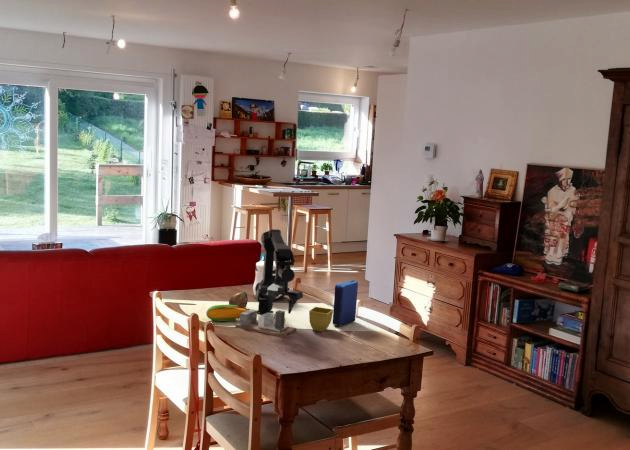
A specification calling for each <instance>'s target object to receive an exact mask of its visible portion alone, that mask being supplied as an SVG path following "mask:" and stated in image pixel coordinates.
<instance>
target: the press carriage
mask: <svg viewBox="0 0 630 450" xmlns="http://www.w3.org/2000/svg"><path fill="white" fill-rule="evenodd" d="M274 312H275V314H274ZM274 312H272V313H265V314H261V315H257V320H258V328H263V329H267V330H272V331H277V332H281V331H283V330H285V329H287V328H289V327H290V326H289V325H285V319H286V318H285V317H286V311H285V310H276V311H274ZM274 316H275V317H274Z"/></svg>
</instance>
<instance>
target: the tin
mask: <svg viewBox="0 0 630 450" xmlns="http://www.w3.org/2000/svg"><path fill="white" fill-rule="evenodd" d="M248 298H249V297H248V294H247V292H245V291H239V292H237V293H235V294H233V295H231V296H230V297H229V299H228V300H229V301H228V305H237V306H236V308H243V309H246V308H247V305H248Z"/></svg>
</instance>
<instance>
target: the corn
mask: <svg viewBox="0 0 630 450" xmlns="http://www.w3.org/2000/svg"><path fill="white" fill-rule="evenodd" d="M236 306H237V305H229V304H216V305H213V306H211V307H209V308H208V309H207V310H206V318H208V319H209V320H211V321H213V322H214V321H215V322H231V321H232V322H233V321H236V320H237V319H240V313H243V312H246V311H248V309H246V308H245V309H243V308H236Z"/></svg>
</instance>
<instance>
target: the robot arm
mask: <svg viewBox="0 0 630 450" xmlns="http://www.w3.org/2000/svg"><path fill="white" fill-rule="evenodd" d="M260 237H261V238H260V241H261V245H262V247H263V250H264V258H263V261H264V269H263V279H262V281H261V282H260V283H259V288H258V289H257V292H256V296H255V300H256V301H257V302H258V307H257V308H258V309H257V314H261V315H263V314H265V313H274V310H273V308H274V307H273V306H274V302H275V301H276V300H275V297H278V296H279V294H281V295H285V296H287V297H288V299H287V301H288V310H287V312H288V313H287V314H291V313H292V311H293V308H294V306H295V305H296V303H297V302H298V300H301V299H303V297H304V294H303V292H302V290H292V291H290V287H289V283H290V282H293V280H294V278H295V277H296V275H295V272H294V270H293V269H292V268H291V266H295V262H296V261H295V255H294V253H293V250H292V248H291V247H290V246H289V245H287V244H286V243H285V240H284V239H283V236H282V232H281V229H274V228H273V229H269V230H267V231H265V232H263V233H262V234H261V236H260ZM274 261H275V265H276V275H275V279H274V280H273V282H272V276H273V264H274Z"/></svg>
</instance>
